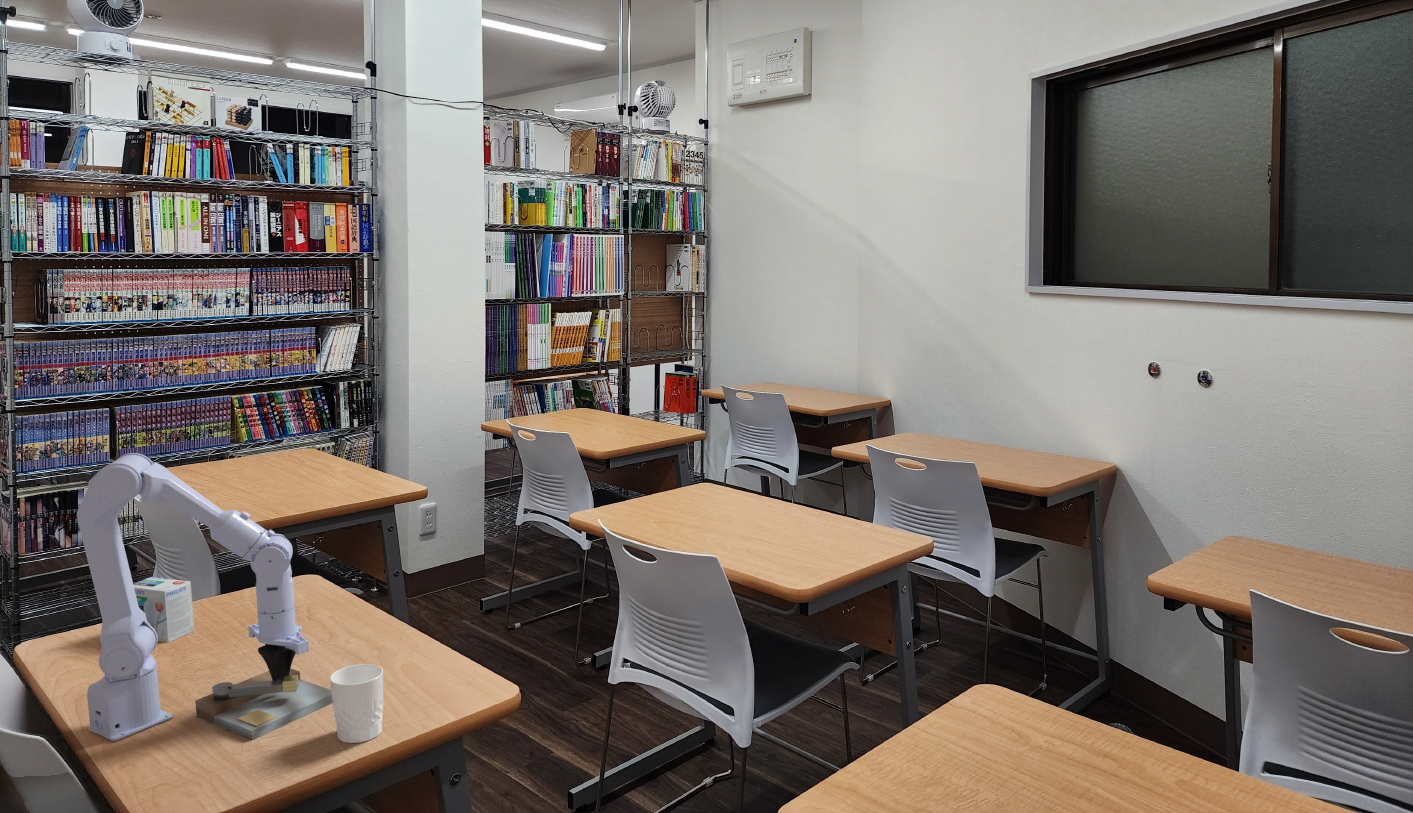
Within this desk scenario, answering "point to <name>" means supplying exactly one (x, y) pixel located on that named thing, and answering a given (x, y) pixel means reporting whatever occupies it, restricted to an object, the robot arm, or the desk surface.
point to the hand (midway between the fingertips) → (281, 684)
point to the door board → (263, 707)
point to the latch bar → (255, 688)
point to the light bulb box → (166, 606)
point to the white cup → (358, 702)
